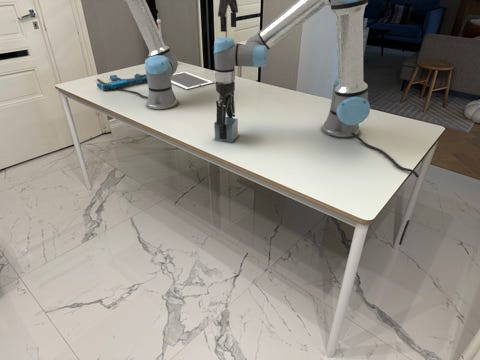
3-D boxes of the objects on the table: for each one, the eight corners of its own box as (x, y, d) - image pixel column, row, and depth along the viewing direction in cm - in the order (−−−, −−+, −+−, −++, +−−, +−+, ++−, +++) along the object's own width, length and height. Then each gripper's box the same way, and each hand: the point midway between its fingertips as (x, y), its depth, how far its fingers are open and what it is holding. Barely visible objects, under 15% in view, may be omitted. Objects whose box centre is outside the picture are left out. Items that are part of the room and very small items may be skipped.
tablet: (159, 77, 217) (158, 76, 217) (185, 71, 228) (185, 71, 228) (186, 89, 197) (186, 89, 197) (214, 82, 208) (214, 82, 208)
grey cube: (237, 135, 146) (237, 118, 142) (232, 142, 140) (231, 125, 136) (221, 133, 148) (220, 116, 144) (215, 139, 143) (214, 122, 138)
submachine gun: (141, 68, 225) (159, 74, 208) (142, 74, 227) (160, 80, 210) (89, 78, 206) (104, 86, 190) (91, 84, 208) (106, 92, 192)
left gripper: (229, -22, 167) (230, 24, 179) (209, -20, 147) (211, 33, 159) (244, -22, 165) (244, 25, 177) (225, -19, 145) (226, 34, 157)
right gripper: (225, 73, 140) (226, 124, 153) (205, 87, 124) (208, 143, 137) (242, 75, 138) (242, 126, 150) (224, 90, 122) (226, 146, 135)
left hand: (228, 29), depth 168 cm, fingers open, 13 cm apart
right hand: (226, 134), depth 144 cm, fingers closed on grey cube, 7 cm apart
